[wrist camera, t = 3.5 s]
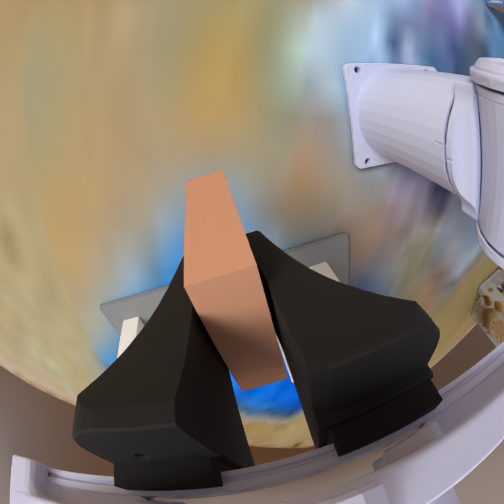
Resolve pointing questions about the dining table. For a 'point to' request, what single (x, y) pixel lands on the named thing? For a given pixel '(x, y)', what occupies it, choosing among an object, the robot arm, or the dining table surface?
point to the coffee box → (491, 307)
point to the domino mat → (309, 254)
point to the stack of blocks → (496, 4)
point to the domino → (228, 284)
